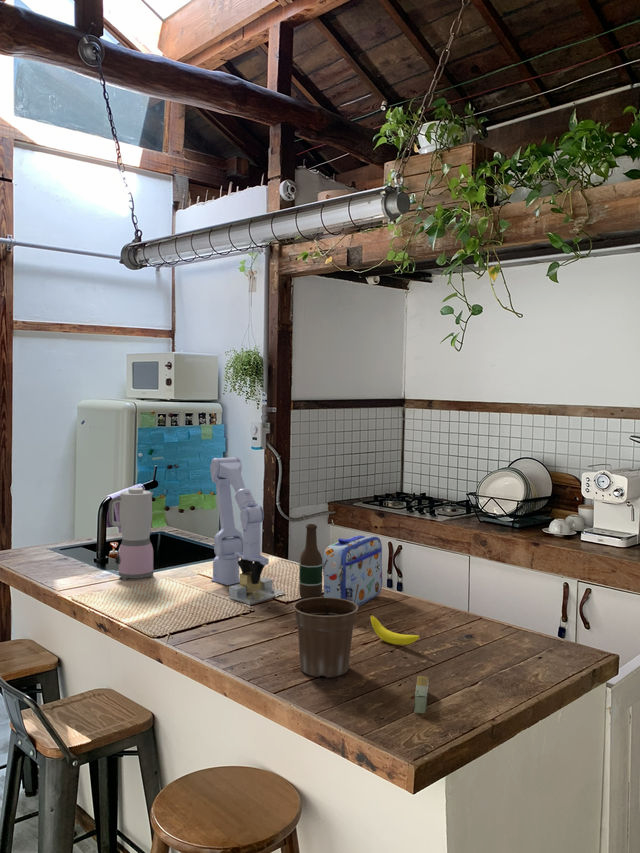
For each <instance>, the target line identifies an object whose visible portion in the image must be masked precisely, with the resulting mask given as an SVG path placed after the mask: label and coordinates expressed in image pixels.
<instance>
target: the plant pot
mask: <svg viewBox="0 0 640 853" xmlns="http://www.w3.org/2000/svg"><path fill="white" fill-rule="evenodd" d="M292 606H293V607H292V608H293V610H294V614H295V623H296V624H297V634H298V635H297V637H298V651H299V668H300V671H301V672H303V673H304V674H306V675H307V676H312V677H315V678H320V677H321V676H323V677H325V678H336V677H341V676H342V675H345V674H346V673H347V672H348V671H349V667H350V658H351V648H352V647H351V646H352V641H353V640H352V639H353V632H354V626H355V624H356V617H357V613H358V612H359V606H358V605H357V604H355V603H354V602H352V601H349V600H345V599H340V598H332V597H324V596H321V597H315V598H307V599H306V598H302V599H299V600H298V601H296V602H294V604H293V605H292Z"/></svg>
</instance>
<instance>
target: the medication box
mask: <svg viewBox="0 0 640 853" xmlns="http://www.w3.org/2000/svg"><path fill="white" fill-rule="evenodd" d="M428 689H429V677H428V676H422V675H417V678H416V686H415V693H414V702H413V703H414V704H413V713H414V712H415V713H414V714H418V713H425V714H426V709H427V702H428Z"/></svg>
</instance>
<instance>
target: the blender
mask: <svg viewBox="0 0 640 853" xmlns="http://www.w3.org/2000/svg"><path fill="white" fill-rule="evenodd" d="M153 495H154V492H153V491H149V490H144V488H143V487H130V488H128V490H125V491H122V492H120V494H119V497H114V498H112V499H111V500H110V501H109V503H108V518H109V520H108V521H109V525H110V526H111V527H116V528H117V527H118V528H120V529H121V530H120V531H121V537H122V540H121V544H120V545H119V548H118V554H117V555H116V556H115V557H114V558H115V564H118V576H120V577H121V580H122V581H125V582H126V581H128V578H129V579H130V578H131V579H136V578H137V579H138V578H146V577H148V578H149V579H152V578H153V577H154V571H155V570H154V548H153V544H152V542H151V539H150V536H151V530H152V522H153V501H152V500H153V499H152V498H153ZM117 503H119V521H115V504H117Z"/></svg>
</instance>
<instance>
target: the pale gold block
mask: <svg viewBox="0 0 640 853" xmlns="http://www.w3.org/2000/svg"><path fill="white" fill-rule="evenodd" d="M239 578H240V582H239V583H236V585H238V584H239V585H242V586H245V587H246V593H251V592H254V591H258V590H261V587H260V579H261V578H260V579H259V582H258V583H257V584H253V583H252V573H251V571H249V572H245V573H242V572H241V573H239ZM234 585H235V584H232V586H234ZM229 587H230V586H227V589H228V590H229Z"/></svg>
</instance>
